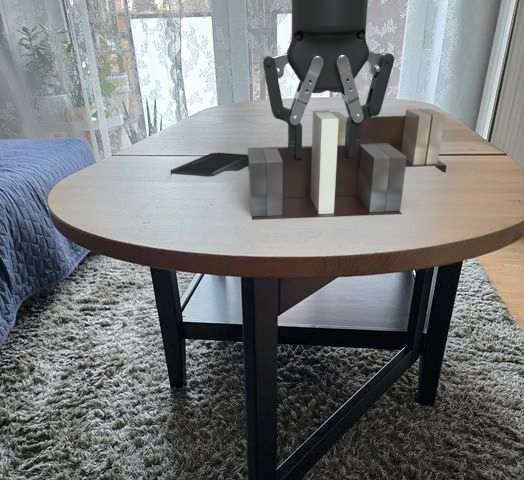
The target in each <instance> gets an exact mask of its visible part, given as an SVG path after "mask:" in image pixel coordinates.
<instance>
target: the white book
mask: <svg viewBox="0 0 524 480" xmlns="http://www.w3.org/2000/svg"><path fill="white" fill-rule="evenodd" d="M331 112H332V111H330V110H313V111H312V126H311V127H312V129H311V130H312V132H311V133H312V134H311V136H312V137H311V146H312V164H311V199H312V201H313V203H314V206H315V208H316V210H317V212H318V214H333V213H334V202H335V183H336V163H337V144H338V125H339V119H338V118H337V117H336V116H334V115H333V114H332V113H331Z"/></svg>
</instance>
